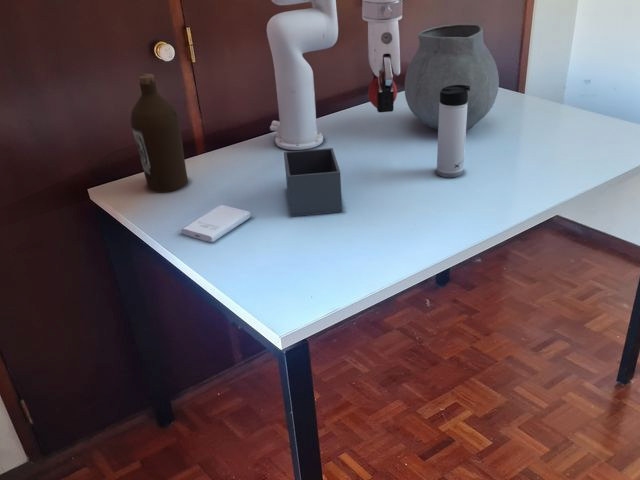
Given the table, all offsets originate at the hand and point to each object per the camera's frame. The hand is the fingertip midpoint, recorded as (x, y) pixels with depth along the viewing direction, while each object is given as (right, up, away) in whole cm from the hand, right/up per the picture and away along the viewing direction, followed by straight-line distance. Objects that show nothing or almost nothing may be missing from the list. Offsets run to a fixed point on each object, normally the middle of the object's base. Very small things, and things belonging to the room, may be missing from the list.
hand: (382, 105), depth 144 cm
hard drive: (-35, -24, +6) cm, 42 cm away
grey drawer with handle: (-15, -15, +16) cm, 26 cm away
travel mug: (+17, -8, +24) cm, 30 cm away
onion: (0, -1, +1) cm, 1 cm away
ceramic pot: (+20, +11, +49) cm, 54 cm away
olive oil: (-50, -11, +24) cm, 56 cm away
